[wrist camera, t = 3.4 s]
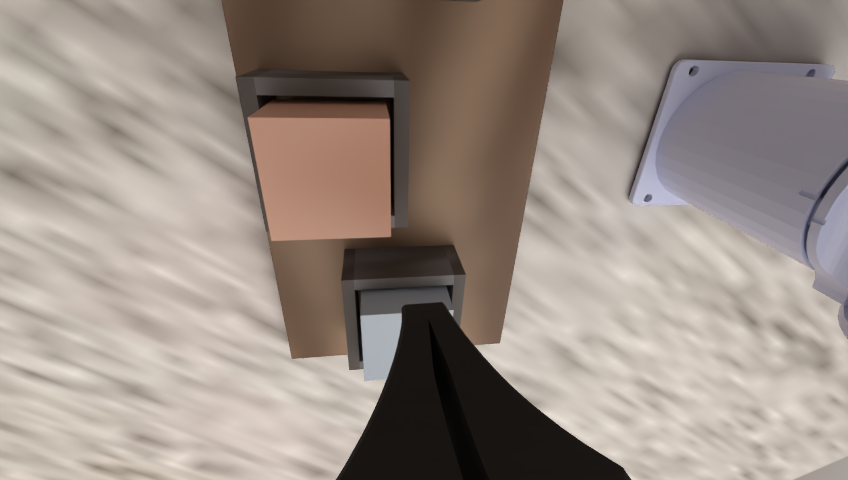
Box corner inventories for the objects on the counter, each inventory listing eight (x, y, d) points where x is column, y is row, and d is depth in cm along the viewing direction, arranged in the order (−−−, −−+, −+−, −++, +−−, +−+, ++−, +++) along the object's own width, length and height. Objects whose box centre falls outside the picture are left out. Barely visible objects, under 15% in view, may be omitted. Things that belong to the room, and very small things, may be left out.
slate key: (440, 269, 21) (453, 310, 18) (436, 328, 23) (447, 373, 20) (361, 272, 20) (360, 315, 17) (364, 333, 22) (364, 380, 19)
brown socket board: (599, -265, 13) (685, -374, 9) (495, 333, 27) (514, 377, 23) (167, -334, 11) (74, -503, 8) (294, 347, 25) (282, 398, 21)
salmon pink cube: (385, 101, 15) (389, 118, 12) (386, 201, 17) (390, 236, 14) (272, 99, 14) (247, 117, 11) (288, 202, 17) (271, 241, 14)
